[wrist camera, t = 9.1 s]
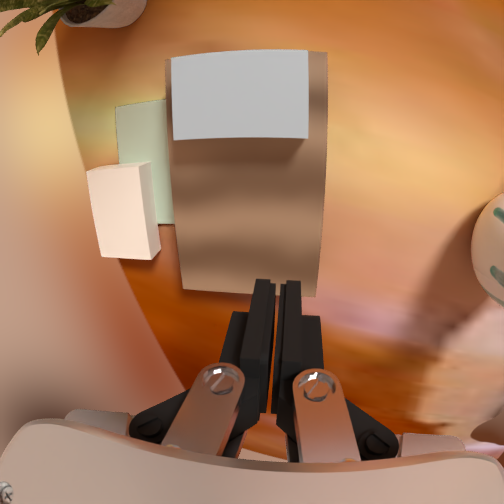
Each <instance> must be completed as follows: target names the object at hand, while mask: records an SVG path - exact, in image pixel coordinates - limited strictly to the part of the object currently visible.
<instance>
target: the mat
mask: <svg viewBox="0 0 504 504" xmlns="http://www.w3.org/2000/svg"><path fill="white" fill-rule="evenodd" d="M115 114H116V131H117V144H118V155H119V164H126V163H138V162H151V168H152V179H153V189H154V198H155V207H156V215H157V223H158V224H175V220H174V211H173V201H172V190H171V178H170V165H169V151H168V134H167V113H166V99H162V100H155V101H148V102H142V103H136V104H130V105H124V106H119V107H115Z"/></svg>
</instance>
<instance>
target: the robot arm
mask: <svg viewBox="0 0 504 504" xmlns="http://www.w3.org/2000/svg"><path fill="white" fill-rule="evenodd" d="M275 298H276V283H271V280H270V279H256V281H255V286H254V291H253V296H252V300H251V305H250V310H249V312H237V311H233V313H232V316H231V320H230V323H229V327H228V331H227V334H226V338H225V342H224V345H223V349H222V353H221V356H220V360H219V363H214V364H211V365H208V366H206V367H205V368H204V369H202V370H201V372H200V373H199V374H198V376H197V378H196V380H195V382H194V383H193V385H192V387H191V388H190V389H188V390H186V391H184V392H183V393H181V394H179V395H176V396H174V397H172V398H170V399H168V400H166V401H164V402H162V403H160V404H157V405H156V406H153V407H151V408H149V409H147V410H145V411H142V412H141V413H139V414H137V415H136V416H131V415H129V413H123V412H108V411H97V410H87V409H76V410H74V411H71V412H70V413H69V414H68V415H67V416H66V417H65V419H39V420H34V421H31V422H28V423H27V424H25V425H24V426H23V427H22V428H21V429H20V430H19V431H18V432H17V433H16V434H15V436H14V437H13V438H12V440H11V441H10V443H9V444H8V446H7V447H6V449H5V451H4V453H3V454H2V456H1V458H0V504H504V469H503V467H502V466H501V464H500V463H499V462H498V461H497V460H496V459H495V458H493V457H491V456H488V455H486V454H482V453H478V452H473V451H466V449H465V445H464V443H463V442H462V440H460V439H459V438H457V437H455V436H446V435H425V434H411V433H403V434H402V435H395V434H394V433H393V432H392V431H391V430H389V429H388V428H387V427H385V426H384V425H382V424H381V423H379V422H378V421H376V420H375V419H374V418H372V417H371V416H369V415H368V414H367V413H365V412H364V411H362V410H361V409H360V408H358V407H357V406H355V405H354V404H353V403H351V402H350V401H349V400H347V399H346V398H345V397H344V395H343V391H342V388H341V384H340V382H339V380H338V378H337V377H336V376H335V375H334V374H332V373H331V372H329V371H327V370H324V363H323V349H322V335H321V323H320V316H309V315H302V307H301V281H297V280H286V284H280V298H279V310H278V323H277V334H276V346H275V357H274V372H273V388H272V404H271V414H277V419H276V425H277V426H278V427H279V428H281V429H282V430H283V431H284V432H285V441H286V450H287V460H288V462H287V463H286V462H269V461H256V460H246V459H238V457H239V454H240V451H241V449H242V446H243V443H244V440H245V438H246V435H247V429H249V428H250V427H252V426H253V425H255V424H257V421H259V417H260V413H266V408H267V400H268V390H269V381H270V372H271V362H272V352H273V341H274V322H275Z"/></svg>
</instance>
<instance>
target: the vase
mask: <svg viewBox="0 0 504 504" xmlns="http://www.w3.org/2000/svg"><path fill="white" fill-rule="evenodd" d="M471 258H472V264H473V268H474V271H475V274H476V277H477V279H478V281H479V283H480V284H481V286H482V288H483V289H484V290H485V292H486V293H487V294H488V295H489V296H490V297H491V298H492V299H493V300H494V301H495V302H496V303H498V304H499V305H500V306H501V307H502V308H504V193H501V194H499V195H498V196H496V197H495V198H493V199H492V200H491V201H490V202H489V203H488V204H487V205H486V206H485V207H484V209H483V210H482V212H481V213H480V215H479V217H478V219H477V221H476V224H475V227H474V230H473V234H472V241H471Z"/></svg>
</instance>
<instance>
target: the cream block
mask: <svg viewBox="0 0 504 504" xmlns="http://www.w3.org/2000/svg"><path fill="white" fill-rule="evenodd" d="M86 174H87V181H88V188H89V194H90V201H91V207H92V212H93V218H94V223H95V228H96V233H97V238H98V243H99V247H100V251H101V256H102V257H113V258H127V259H143V260H152V259H153V257H154V256H155V255H156V254H157V253H158V252H159V251H160V250H161V245H160V238H159V231H158V223H157V215H156V207H155V198H154V189H153V179H152V168H151V162H138V163H126V164H116V165H106V166H99V167H97V168H94V169H91V170H89V171H86Z"/></svg>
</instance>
